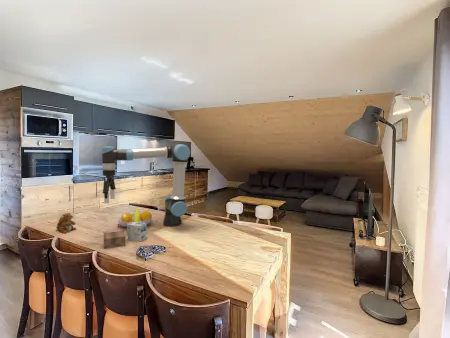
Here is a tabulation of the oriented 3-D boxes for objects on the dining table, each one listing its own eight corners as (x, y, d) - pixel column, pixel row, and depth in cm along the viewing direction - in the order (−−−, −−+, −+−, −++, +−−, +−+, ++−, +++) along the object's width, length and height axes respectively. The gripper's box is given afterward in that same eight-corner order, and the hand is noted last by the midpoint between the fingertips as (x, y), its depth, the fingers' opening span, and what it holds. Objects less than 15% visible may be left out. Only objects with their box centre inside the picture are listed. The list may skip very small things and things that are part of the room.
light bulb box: (146, 238, 166) (146, 222, 165) (140, 241, 159) (140, 225, 159) (133, 236, 169) (133, 221, 168) (127, 239, 162) (126, 224, 161)
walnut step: (124, 239, 163) (123, 230, 163) (125, 245, 152) (125, 236, 152) (104, 241, 158) (103, 232, 157) (103, 248, 147) (103, 239, 147)
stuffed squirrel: (65, 234, 172) (65, 215, 171) (51, 231, 176) (50, 213, 175) (78, 229, 181) (77, 212, 180) (64, 227, 186) (63, 210, 185)
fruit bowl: (147, 230, 181) (147, 215, 180) (111, 230, 181) (110, 215, 180) (158, 220, 209) (158, 207, 208) (127, 219, 209) (126, 206, 208)
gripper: (108, 168, 173) (109, 197, 175) (96, 171, 148) (97, 205, 150) (119, 168, 174) (120, 197, 176) (109, 171, 150) (110, 205, 151)
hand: (109, 201), depth 163 cm, fingers open, 13 cm apart
